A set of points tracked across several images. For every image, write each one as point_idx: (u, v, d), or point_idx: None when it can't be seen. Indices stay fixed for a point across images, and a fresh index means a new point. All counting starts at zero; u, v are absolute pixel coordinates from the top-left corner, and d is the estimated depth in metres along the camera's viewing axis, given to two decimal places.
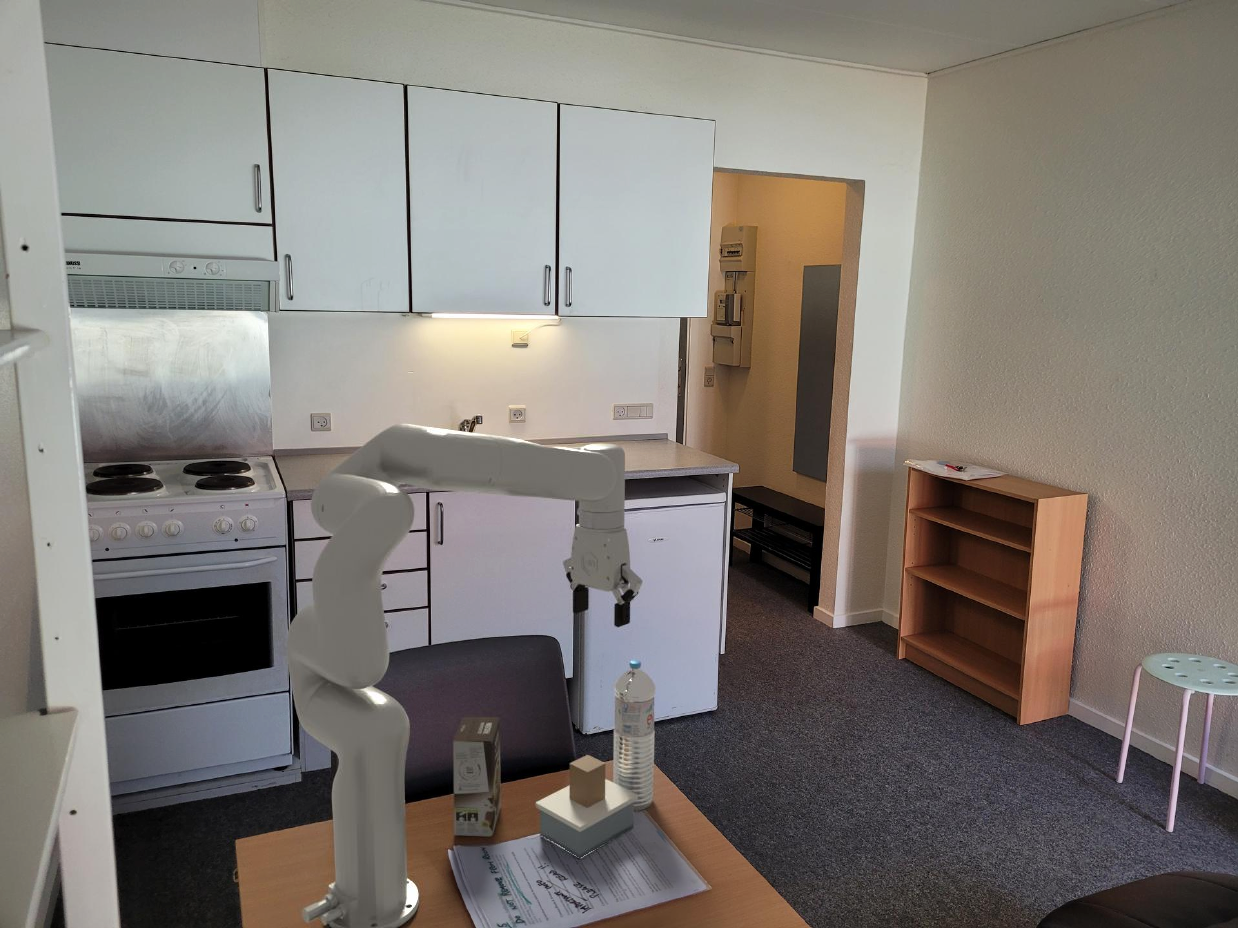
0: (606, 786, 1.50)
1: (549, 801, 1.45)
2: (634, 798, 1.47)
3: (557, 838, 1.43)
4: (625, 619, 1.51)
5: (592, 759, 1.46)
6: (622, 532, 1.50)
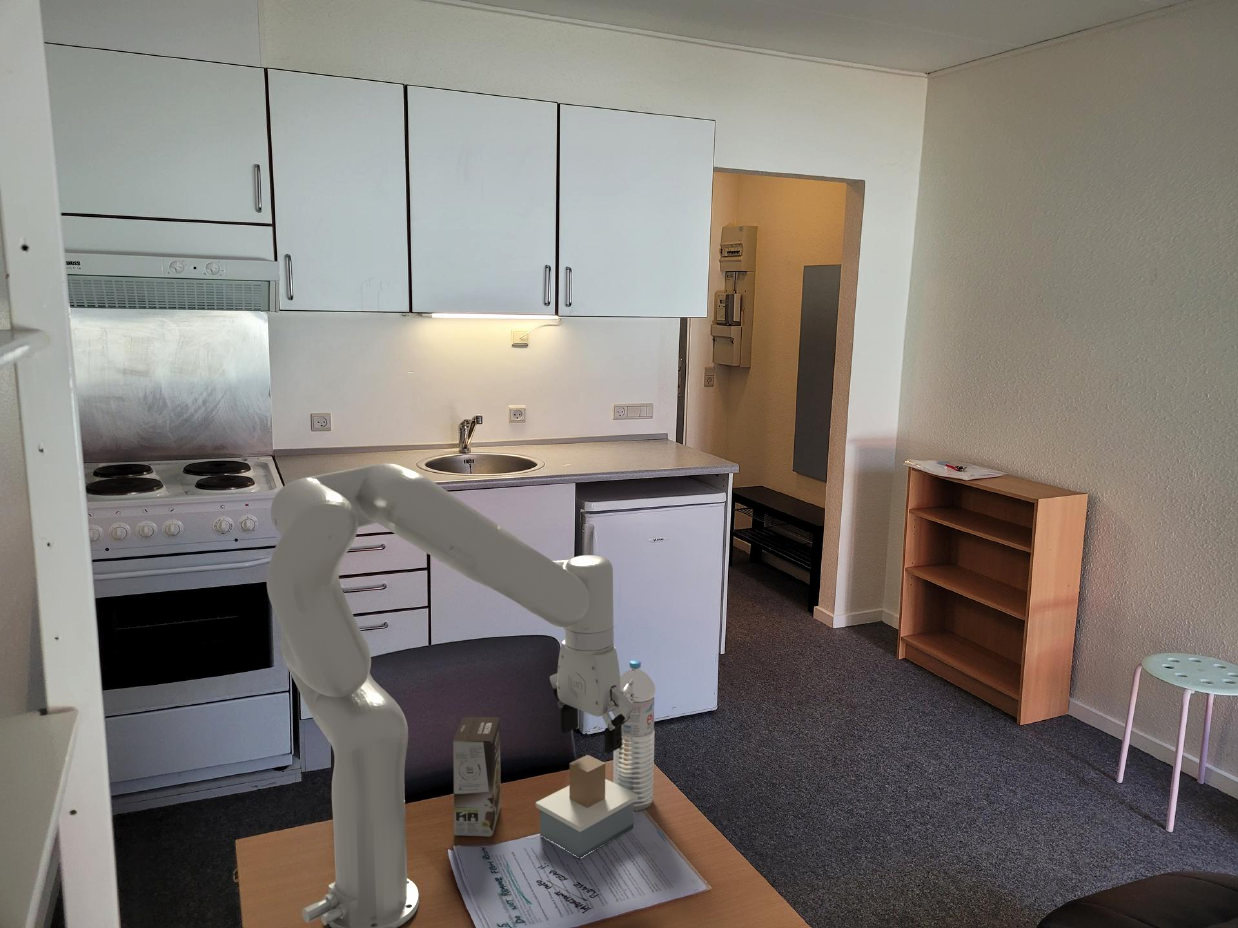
0: (606, 786, 1.50)
1: (549, 801, 1.45)
2: (634, 798, 1.47)
3: (557, 838, 1.43)
4: (616, 744, 1.40)
5: (592, 759, 1.46)
6: (611, 652, 1.39)
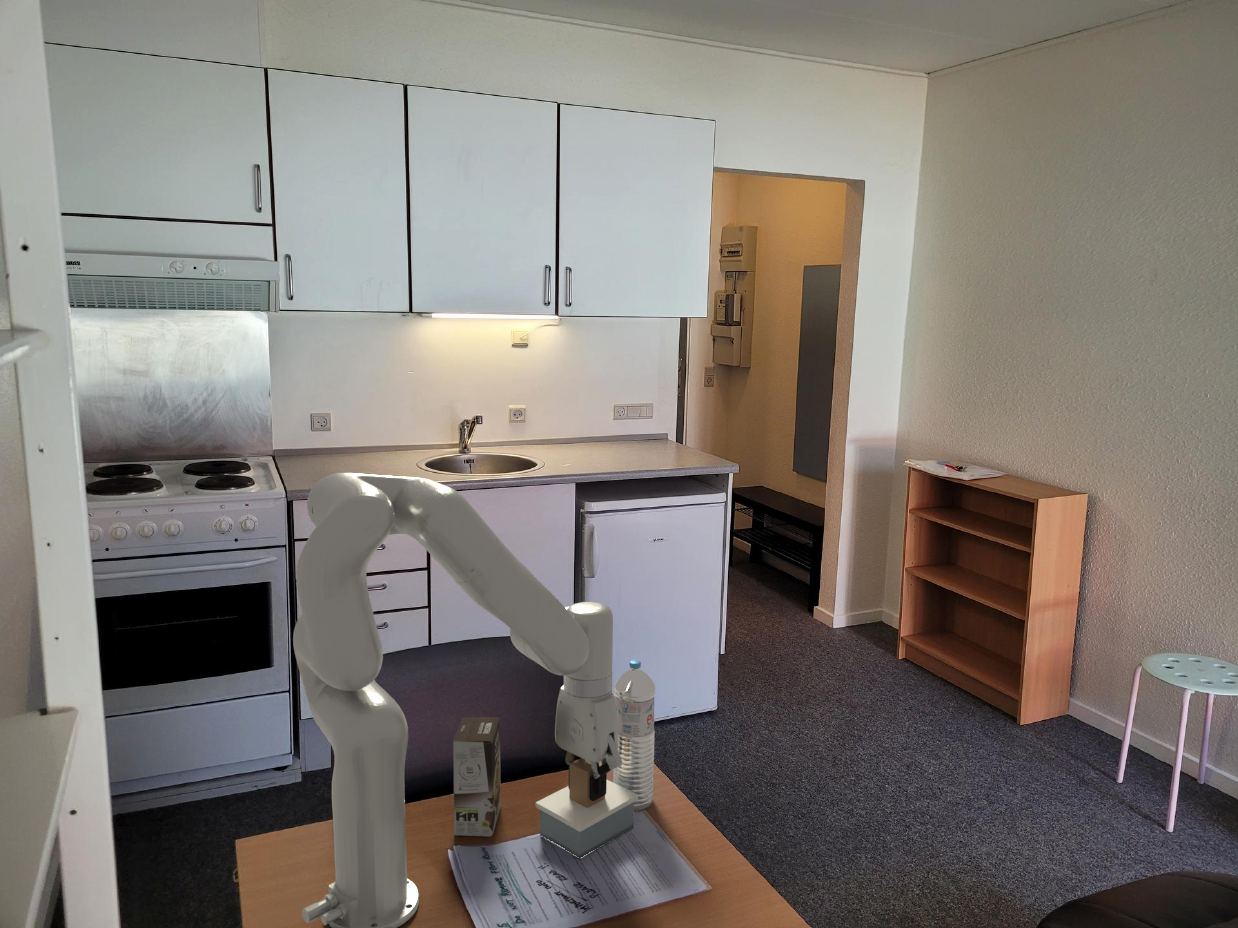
0: (606, 786, 1.50)
1: (549, 801, 1.45)
2: (634, 798, 1.47)
3: (557, 838, 1.43)
4: (601, 792, 1.43)
5: None
6: (609, 699, 1.40)
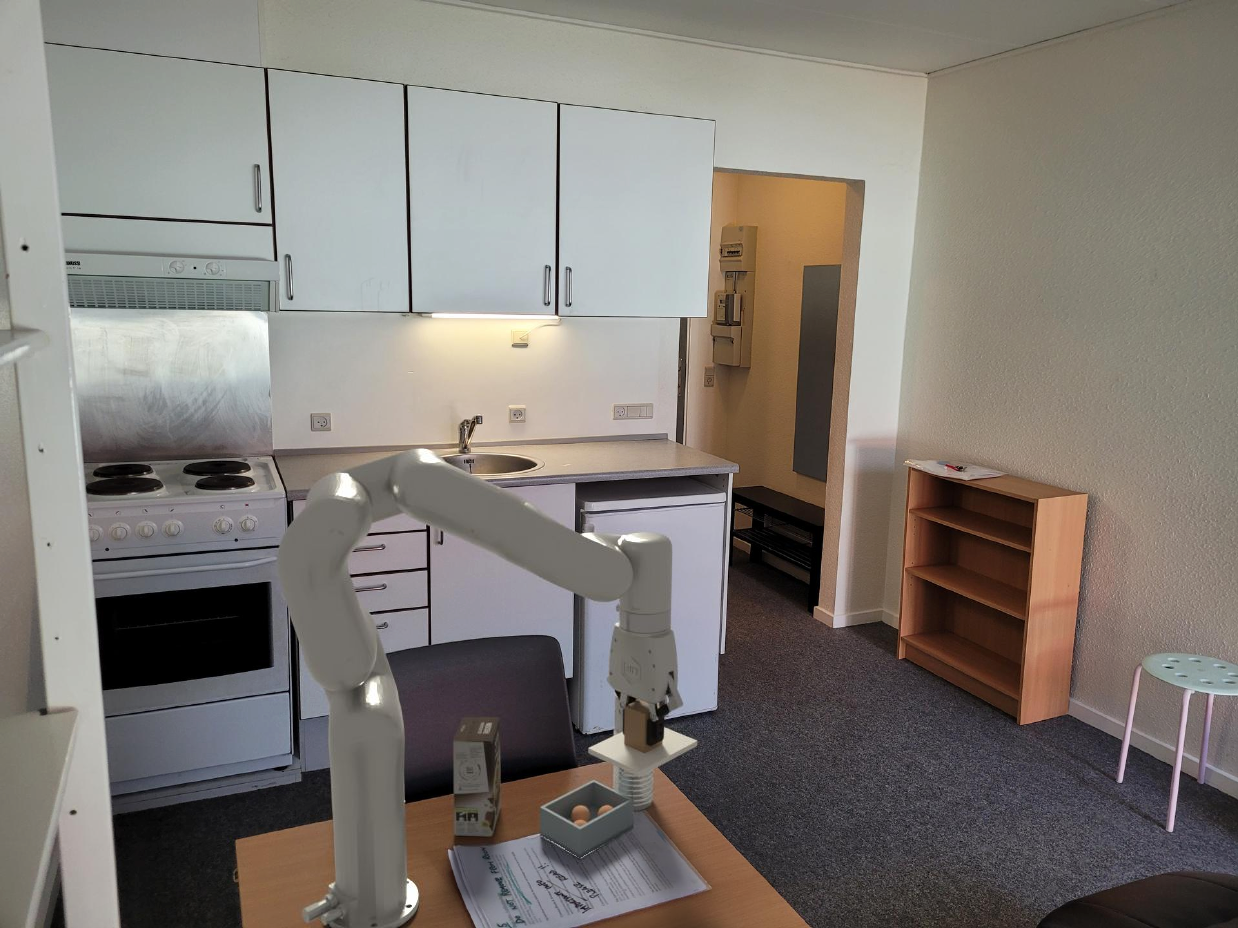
0: None
1: (603, 747, 1.35)
2: (693, 744, 1.37)
3: (557, 838, 1.43)
4: (659, 737, 1.33)
5: None
6: (669, 635, 1.30)
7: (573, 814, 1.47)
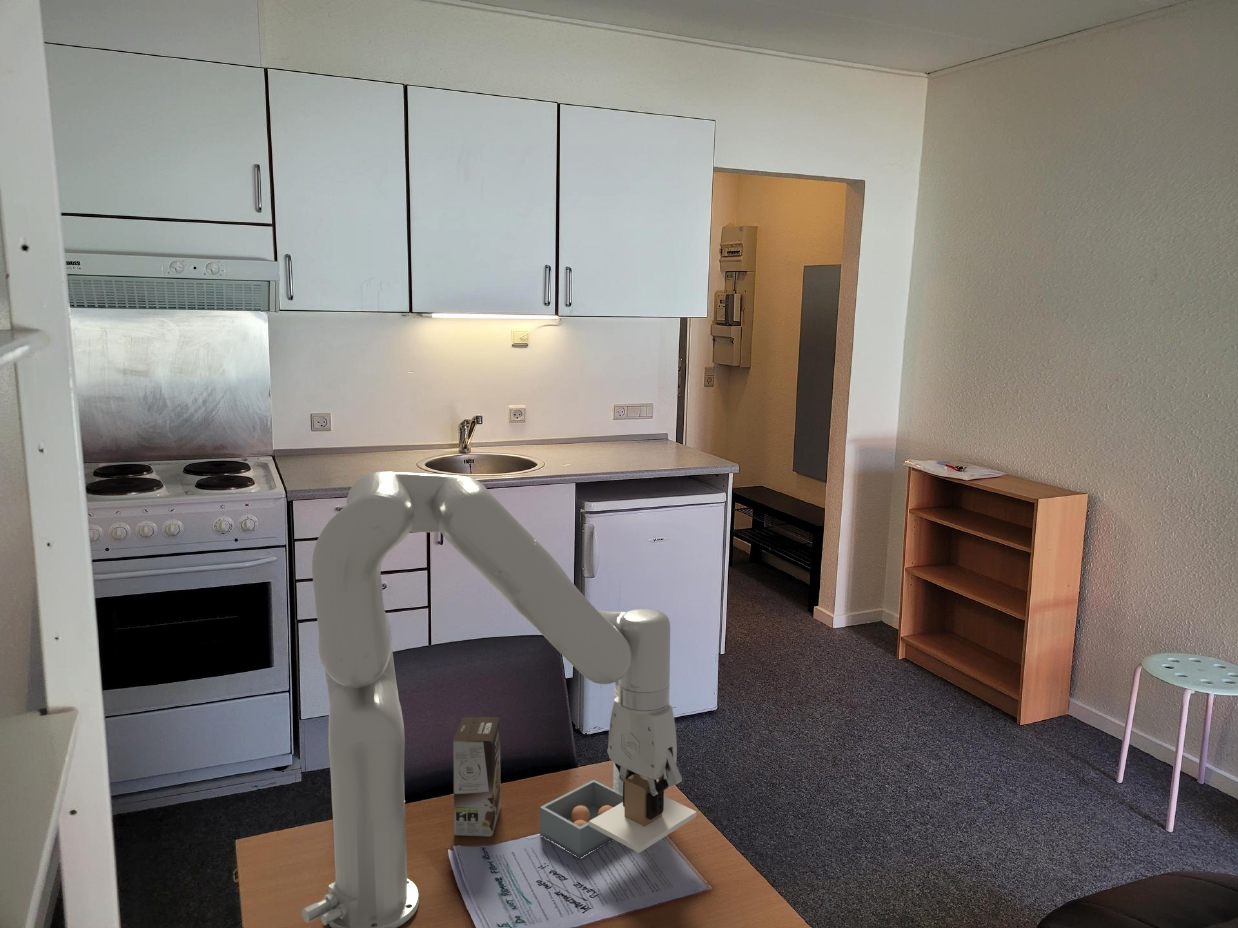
0: None
1: (604, 819, 1.37)
2: (692, 815, 1.39)
3: (557, 838, 1.43)
4: (658, 810, 1.35)
5: None
6: (668, 712, 1.32)
7: (573, 814, 1.47)
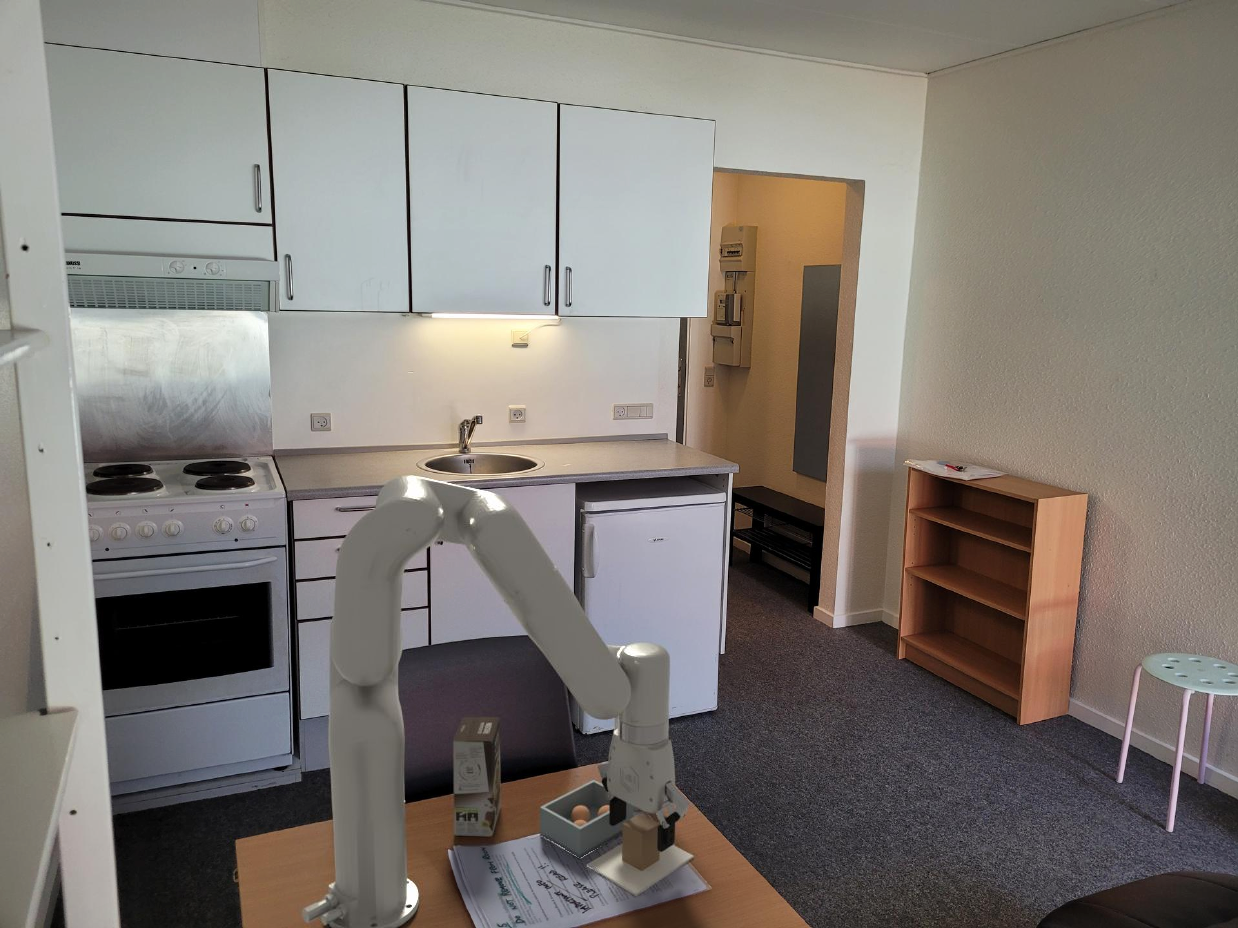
0: None
1: (601, 863, 1.38)
2: (689, 859, 1.40)
3: (557, 838, 1.43)
4: (669, 843, 1.34)
5: (646, 819, 1.39)
6: (667, 746, 1.33)
7: (573, 814, 1.47)
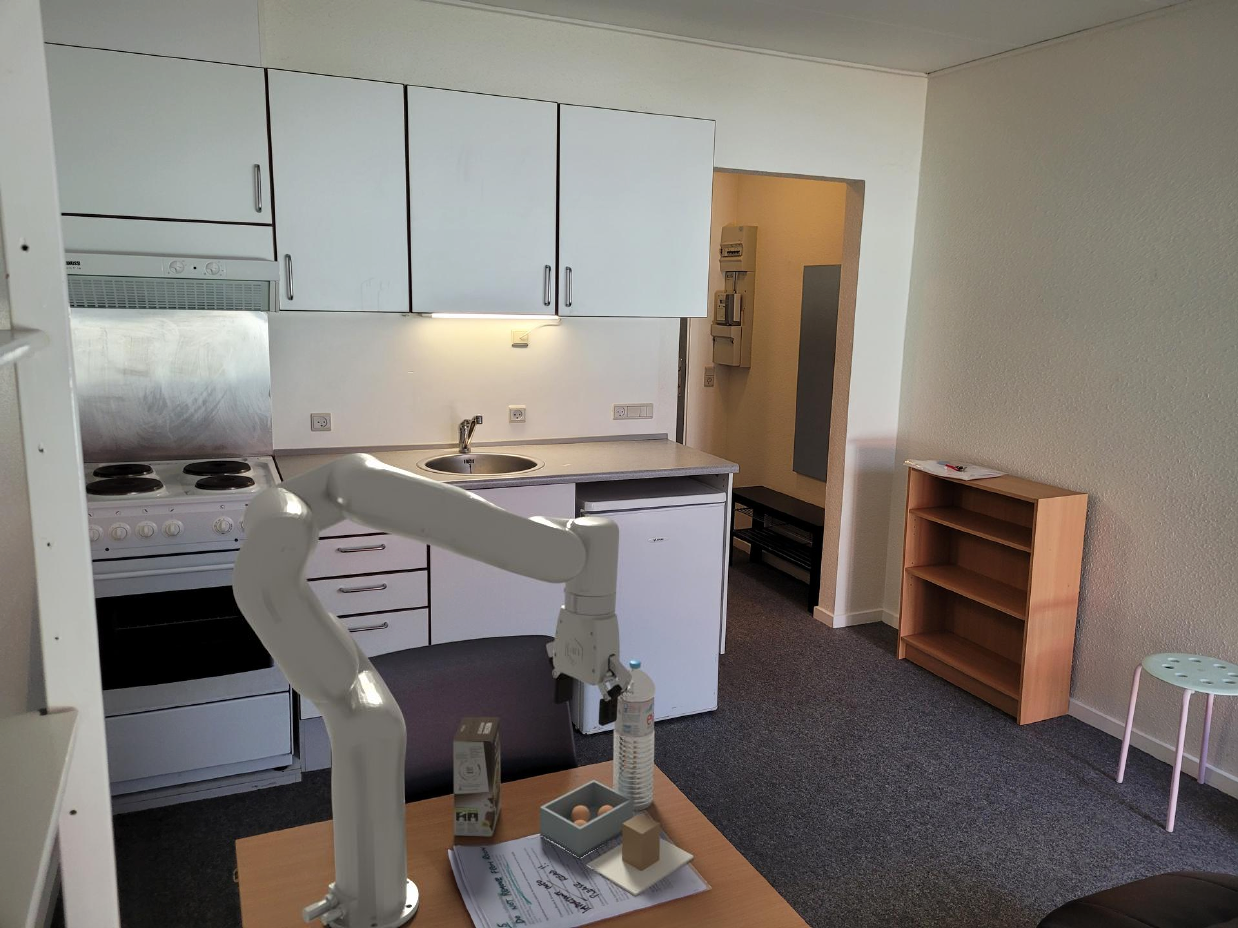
0: (659, 845, 1.43)
1: (601, 862, 1.38)
2: (689, 859, 1.40)
3: (557, 838, 1.43)
4: (611, 717, 1.33)
5: (646, 819, 1.39)
6: (612, 619, 1.33)
7: (573, 814, 1.47)
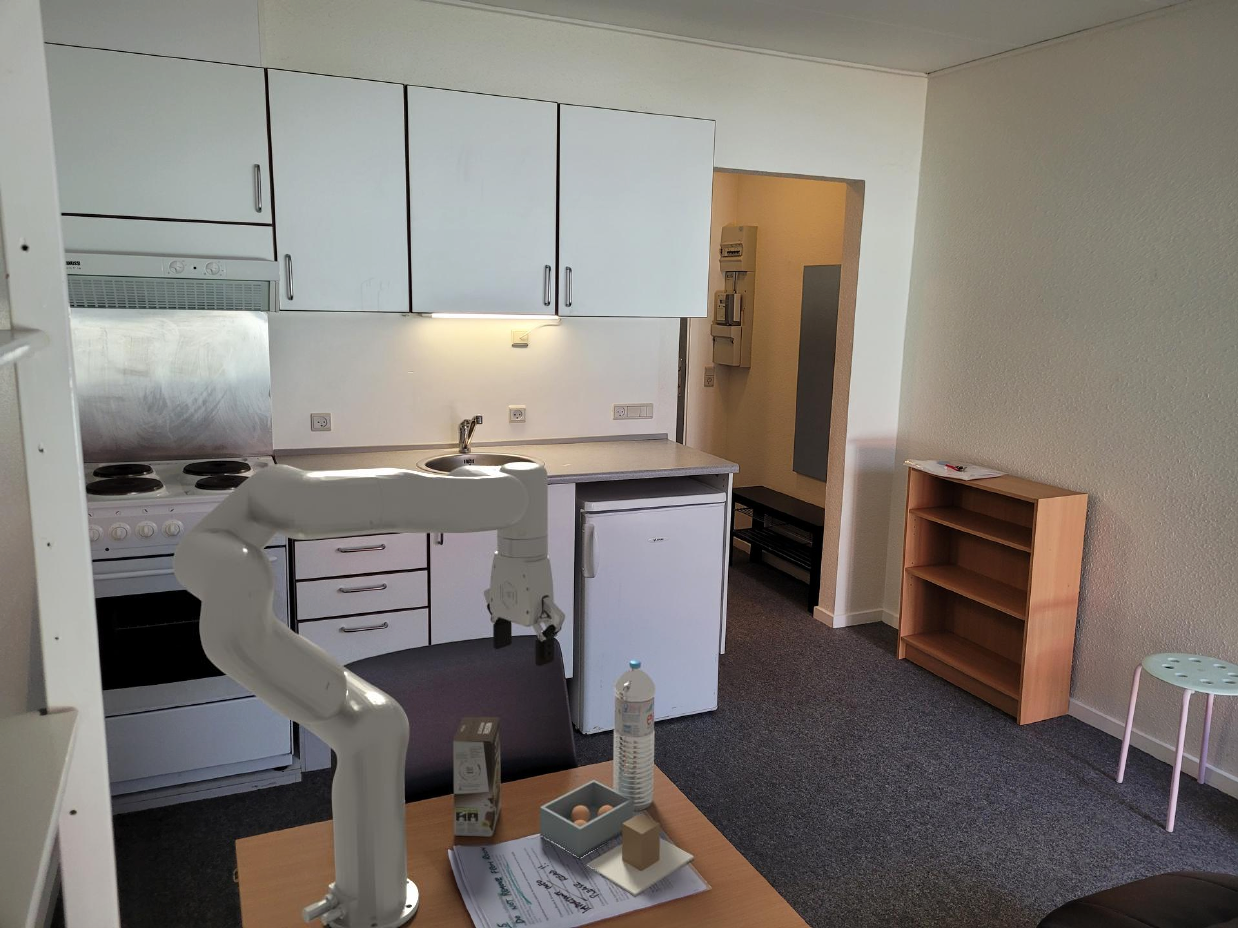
0: (659, 845, 1.43)
1: (601, 862, 1.38)
2: None
3: (557, 838, 1.43)
4: (547, 657, 1.36)
5: (646, 819, 1.39)
6: (544, 561, 1.35)
7: (573, 814, 1.47)
